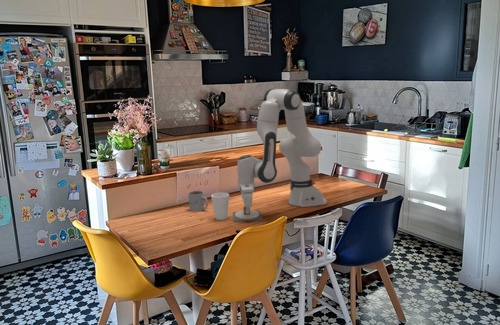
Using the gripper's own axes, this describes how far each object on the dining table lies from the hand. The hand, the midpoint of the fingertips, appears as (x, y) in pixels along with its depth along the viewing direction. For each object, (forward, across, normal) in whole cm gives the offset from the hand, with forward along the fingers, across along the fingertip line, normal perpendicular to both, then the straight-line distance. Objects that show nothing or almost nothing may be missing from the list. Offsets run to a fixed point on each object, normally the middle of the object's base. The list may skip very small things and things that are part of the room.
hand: (246, 210), depth 232 cm
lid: (+3, -1, 0) cm, 3 cm away
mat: (+4, -1, 0) cm, 4 cm away
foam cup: (+4, -1, -14) cm, 14 cm away
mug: (+4, -18, -26) cm, 32 cm away
